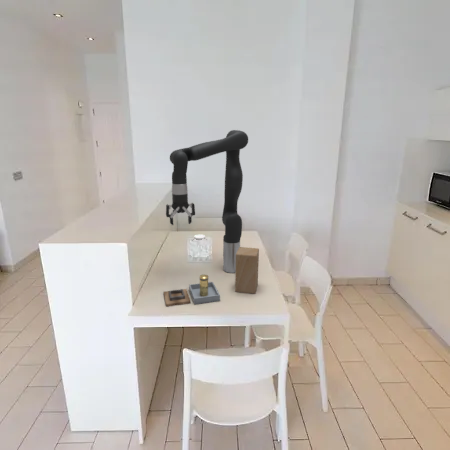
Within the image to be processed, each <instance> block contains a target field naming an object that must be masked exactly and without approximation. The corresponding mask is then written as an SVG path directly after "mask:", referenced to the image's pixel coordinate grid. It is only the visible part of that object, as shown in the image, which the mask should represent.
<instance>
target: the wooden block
mask: <svg viewBox="0 0 450 450" xmlns="http://www.w3.org/2000/svg"><path fill="white" fill-rule="evenodd" d="M259 256H260V248H258V247H244V246H243V247H242V246H240V247H239V249H238V251H237V253H236V272H235V273H234V275H235V279H234V280H235V281H234V290H235V292H237V293H244V294H254V295H255V294H256V293H257V289H258V284H259V280H258V279H259V261H260V260H259V258H260V257H259Z"/></svg>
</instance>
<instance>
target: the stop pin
mask: <svg viewBox="0 0 450 450" xmlns="http://www.w3.org/2000/svg"><path fill="white" fill-rule="evenodd" d="M208 282H209V275H208V274H201V275H199V283H200V296H203V297H205V296H207V295H208Z"/></svg>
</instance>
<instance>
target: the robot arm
mask: <svg viewBox="0 0 450 450" xmlns="http://www.w3.org/2000/svg"><path fill="white" fill-rule="evenodd" d="M248 143H249V136H248V134H247V133H246V132H245V131H242V130H238V129H237V130H236V129H232V130H230V131H228V133H227V134H226V137H224V138H221V139H216V140H211V141H205V142H201V143H198V144H194V145H191V146H189V147H184V148H180V149H176V150H173V151H172V152H171V153H170V155H169V161H170V162H171V164H173V171H172V173H171V183H172V184H171V197H172V204H168V203H167V204H166V205H165V215H166V218H169V223H170V224H171V226H174V216H175V215H176V214H180V213H181V214H184V213H185V214H187V218H188V219H187V221H188V222H187V223H188V224H189V225H190V224H191V223H193V221H192V217H193V216H195V215H196V208H195V203H194V202H191V203H189V201H188V200H189V198H188V196H189V195H188V191H189V190H188V183H187V182H188V181H187V180H188V179H187V171H188V165H189V164H188V163H189V162H192V161H193V162H194V161H199V160H202V159H206V158H208V157H211V156H214V155H218V154H221V153H225V159H226V160H225V171H224V172H225V173H224V196H223V197H224V202H223V203H224V204H223V210H222V211H223V212H222V216H221V221H222V223H223V226H224V235H223V239H222V240H223V249H222V250H223V255H222V256H223V260H222V262H223V263H222V264H223V265H222V267H223V268H222V270H223V272H226V273H230V274H235V273H236V253H237V251H238V249H239V247H241V238H242V233H243V221H242V220H243V219H242V217H241V216H240V215H239V214H238V203H239V198H240V195H241V193H242V189H243V182H244V181H243V177H244V175H243V170H242V165H241V160H240V152H241V150H242V149H245V148H246V146H247V145H248ZM189 207H190V208H191V212H190V211H189V210H188V208H189ZM171 208H172V209H173V210H172V211H171V213H170V210H171Z"/></svg>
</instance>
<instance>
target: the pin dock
mask: <svg viewBox="0 0 450 450" xmlns="http://www.w3.org/2000/svg"><path fill="white" fill-rule="evenodd" d="M163 297H164V302H165V306H166V307H174V306H179V305H180V306H181V305H188V304H191V302H192V301H191V299H190V296H189V293H188V290H187V288H180V289H173V290H167V291H163Z"/></svg>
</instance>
